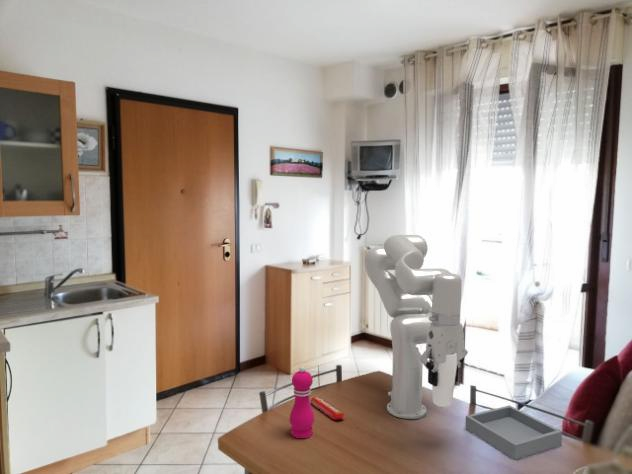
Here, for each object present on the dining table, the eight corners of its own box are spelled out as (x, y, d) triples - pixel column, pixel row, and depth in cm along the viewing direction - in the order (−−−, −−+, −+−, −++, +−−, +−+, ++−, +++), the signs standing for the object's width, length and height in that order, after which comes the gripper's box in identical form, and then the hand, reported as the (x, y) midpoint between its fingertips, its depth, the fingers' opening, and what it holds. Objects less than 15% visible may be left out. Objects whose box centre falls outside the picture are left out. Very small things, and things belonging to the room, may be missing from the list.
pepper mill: (284, 433, 128) (284, 366, 127) (301, 425, 133) (302, 360, 132) (301, 442, 123) (302, 372, 122) (319, 433, 129) (320, 366, 127)
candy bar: (345, 421, 137) (345, 411, 137) (336, 424, 135) (336, 414, 135) (318, 402, 150) (318, 393, 150) (308, 404, 148) (309, 395, 148)
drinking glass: (456, 410, 118) (458, 356, 117) (430, 407, 119) (432, 353, 118) (453, 399, 125) (456, 347, 123) (429, 397, 126) (431, 345, 125)
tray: (465, 428, 132) (465, 415, 132) (509, 417, 140) (509, 405, 139) (515, 460, 116) (515, 445, 116) (561, 445, 123) (562, 431, 123)
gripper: (429, 325, 113) (426, 393, 115) (480, 319, 120) (477, 382, 122) (411, 318, 120) (409, 382, 121) (460, 312, 127) (457, 372, 129)
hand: (443, 381), depth 122 cm, fingers closed on drinking glass, 6 cm apart
